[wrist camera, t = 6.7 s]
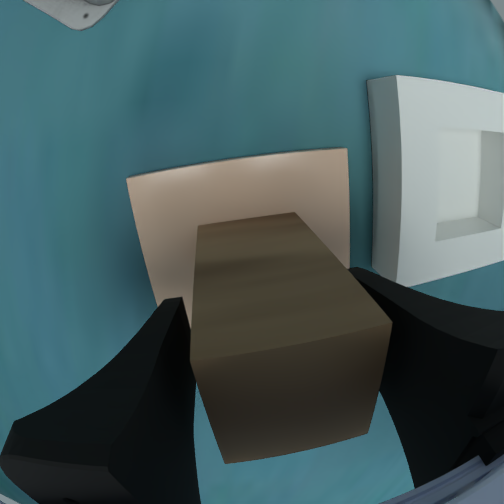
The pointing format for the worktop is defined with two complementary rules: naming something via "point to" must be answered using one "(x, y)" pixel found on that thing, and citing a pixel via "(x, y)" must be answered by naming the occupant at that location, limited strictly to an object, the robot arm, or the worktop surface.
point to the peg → (281, 339)
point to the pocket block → (435, 178)
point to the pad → (235, 207)
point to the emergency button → (75, 11)
